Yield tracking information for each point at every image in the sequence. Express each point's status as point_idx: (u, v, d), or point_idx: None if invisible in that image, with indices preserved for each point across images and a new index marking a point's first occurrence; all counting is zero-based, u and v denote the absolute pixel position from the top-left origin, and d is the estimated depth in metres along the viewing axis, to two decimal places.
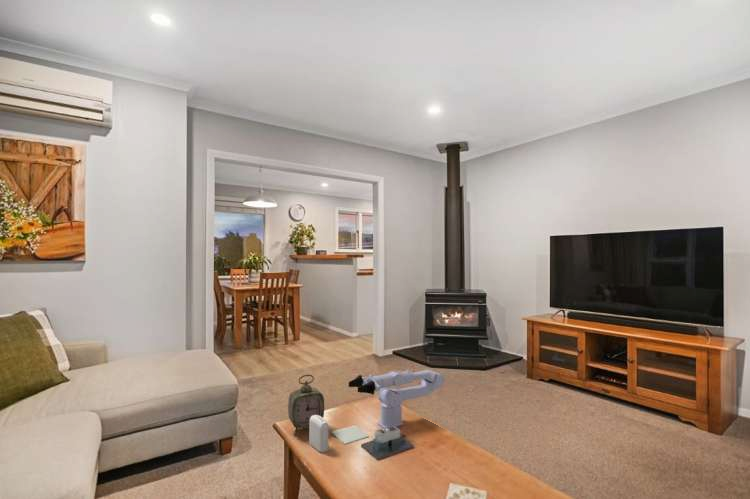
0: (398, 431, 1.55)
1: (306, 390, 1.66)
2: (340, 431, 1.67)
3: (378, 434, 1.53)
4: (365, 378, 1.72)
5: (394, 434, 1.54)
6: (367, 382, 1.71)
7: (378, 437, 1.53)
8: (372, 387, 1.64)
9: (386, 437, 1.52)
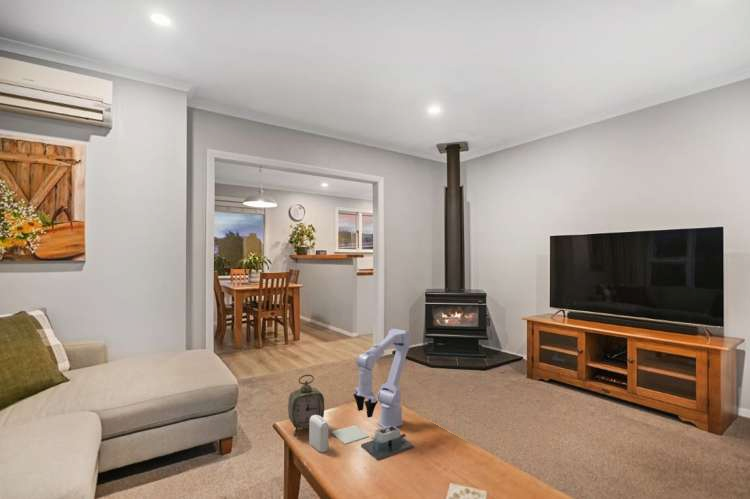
0: (398, 431, 1.55)
1: (306, 390, 1.66)
2: (340, 431, 1.67)
3: (378, 434, 1.53)
4: None
5: (394, 434, 1.54)
6: None
7: (378, 437, 1.53)
8: None
9: (386, 437, 1.52)
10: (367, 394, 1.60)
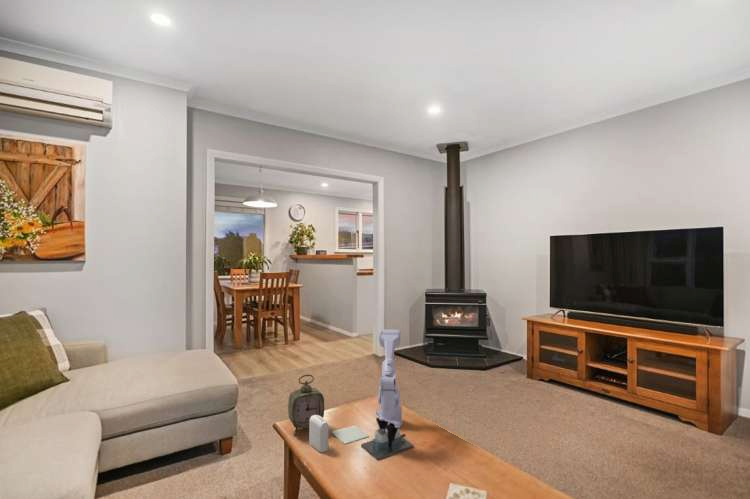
0: (398, 431, 1.55)
1: (306, 390, 1.66)
2: (340, 431, 1.67)
3: (378, 434, 1.53)
4: None
5: None
6: None
7: (378, 437, 1.53)
8: None
9: (386, 437, 1.52)
10: (390, 418, 1.53)
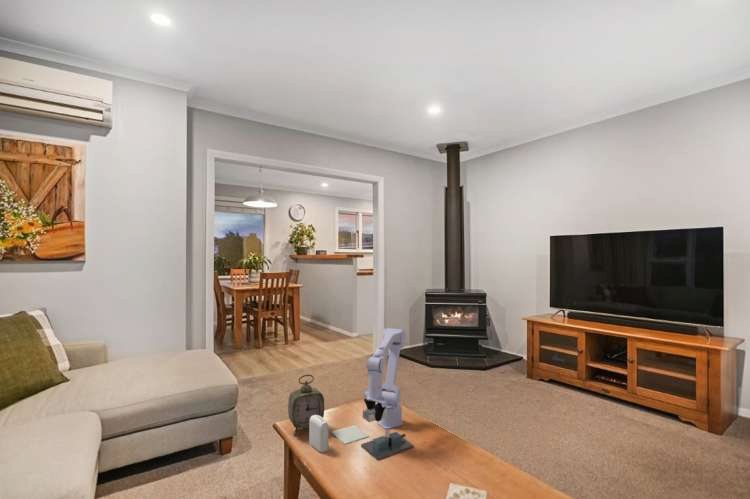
0: (385, 411, 1.59)
1: (306, 390, 1.66)
2: (340, 431, 1.67)
3: (365, 414, 1.56)
4: None
5: None
6: None
7: (365, 417, 1.56)
8: None
9: (373, 417, 1.55)
10: (377, 398, 1.56)
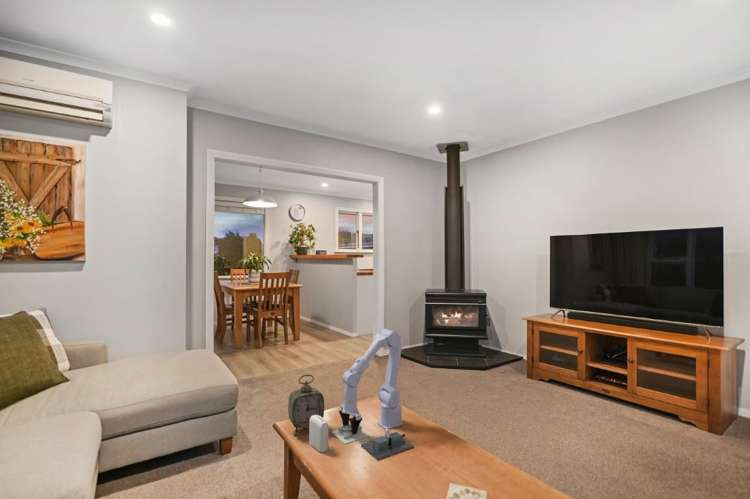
0: (360, 428, 1.65)
1: (306, 390, 1.66)
2: None
3: (340, 431, 1.63)
4: None
5: None
6: None
7: (340, 434, 1.63)
8: None
9: (348, 434, 1.62)
10: (352, 411, 1.62)
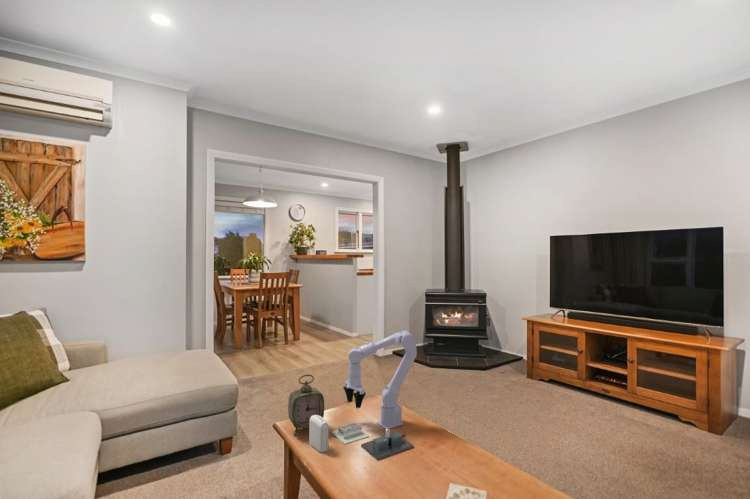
0: (360, 428, 1.65)
1: (306, 390, 1.66)
2: None
3: (340, 431, 1.63)
4: None
5: (356, 431, 1.64)
6: None
7: (340, 434, 1.63)
8: None
9: (348, 434, 1.62)
10: (356, 386, 1.71)
